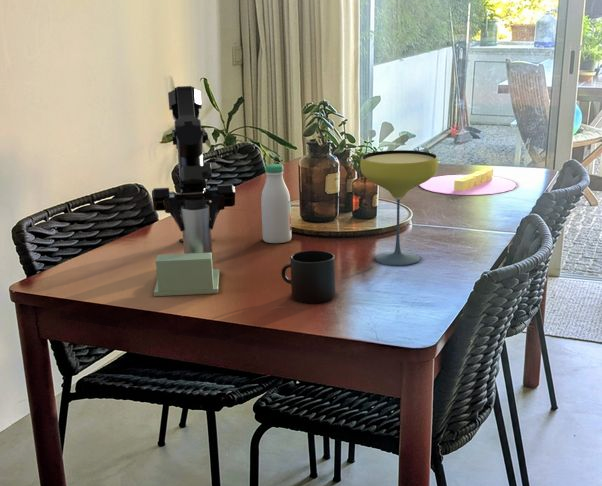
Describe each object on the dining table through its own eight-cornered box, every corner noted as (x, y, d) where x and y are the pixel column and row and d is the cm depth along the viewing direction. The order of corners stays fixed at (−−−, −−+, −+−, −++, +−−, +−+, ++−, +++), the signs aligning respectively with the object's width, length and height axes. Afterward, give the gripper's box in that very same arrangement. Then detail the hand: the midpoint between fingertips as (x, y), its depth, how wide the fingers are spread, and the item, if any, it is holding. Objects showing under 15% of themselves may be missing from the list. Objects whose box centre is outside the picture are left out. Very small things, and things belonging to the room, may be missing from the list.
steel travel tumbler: (180, 257, 199) (175, 197, 194) (205, 252, 202) (201, 193, 197) (191, 263, 194) (187, 202, 189) (217, 258, 197) (213, 198, 192)
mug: (290, 286, 193) (289, 247, 190) (341, 291, 189) (340, 252, 186) (274, 300, 185) (272, 259, 182) (326, 305, 181) (325, 264, 178)
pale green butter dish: (159, 275, 204) (156, 242, 201) (219, 273, 204) (217, 240, 202) (154, 296, 190) (150, 261, 187) (218, 293, 191) (215, 258, 188)
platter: (531, 180, 292) (532, 170, 291) (491, 199, 268) (492, 188, 267) (446, 172, 310) (446, 162, 309) (401, 188, 286) (402, 178, 285)
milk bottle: (288, 244, 226) (285, 168, 219) (259, 243, 228) (256, 167, 220) (294, 236, 233) (292, 162, 226) (266, 236, 235) (263, 162, 227)
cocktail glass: (348, 255, 216) (347, 154, 206) (411, 245, 222) (413, 147, 213) (382, 274, 200) (383, 166, 191) (449, 263, 206) (453, 158, 197)
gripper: (148, 152, 192) (152, 213, 186) (232, 148, 194) (238, 208, 188) (151, 180, 202) (155, 239, 196) (231, 176, 204) (237, 233, 198)
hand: (196, 229), depth 194 cm, fingers closed on steel travel tumbler, 6 cm apart
